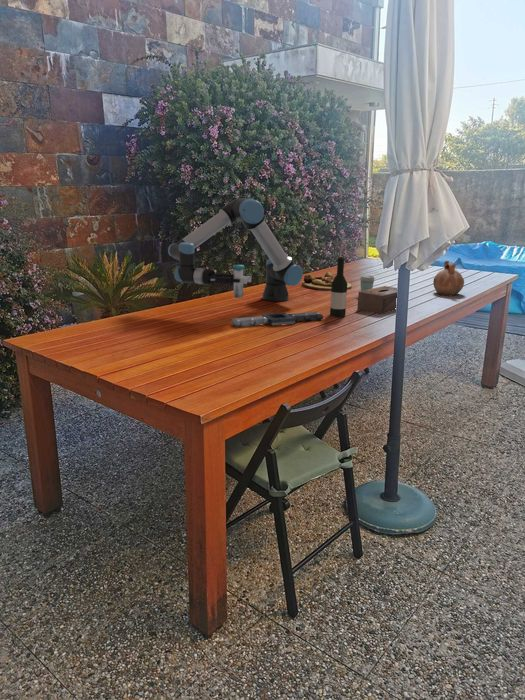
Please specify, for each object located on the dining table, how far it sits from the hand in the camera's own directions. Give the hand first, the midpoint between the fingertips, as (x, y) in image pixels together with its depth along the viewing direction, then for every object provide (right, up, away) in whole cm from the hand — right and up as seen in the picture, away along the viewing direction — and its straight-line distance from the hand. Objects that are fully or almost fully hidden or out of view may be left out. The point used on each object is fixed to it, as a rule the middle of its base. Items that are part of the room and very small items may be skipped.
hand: (248, 280), depth 267 cm
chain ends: (+14, -20, +3) cm, 25 cm away
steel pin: (-5, -7, +4) cm, 10 cm away
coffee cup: (+68, -1, +69) cm, 97 cm away
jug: (+121, +1, +82) cm, 146 cm away
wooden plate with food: (+48, +8, +98) cm, 110 cm away
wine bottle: (+45, -16, +20) cm, 52 cm away
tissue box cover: (+72, -11, +38) cm, 82 cm away
